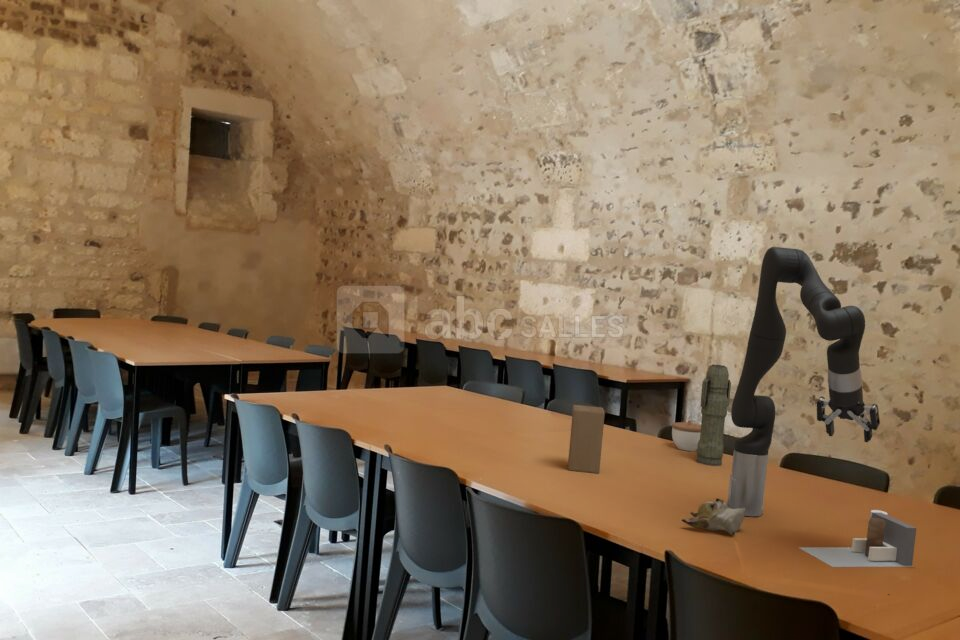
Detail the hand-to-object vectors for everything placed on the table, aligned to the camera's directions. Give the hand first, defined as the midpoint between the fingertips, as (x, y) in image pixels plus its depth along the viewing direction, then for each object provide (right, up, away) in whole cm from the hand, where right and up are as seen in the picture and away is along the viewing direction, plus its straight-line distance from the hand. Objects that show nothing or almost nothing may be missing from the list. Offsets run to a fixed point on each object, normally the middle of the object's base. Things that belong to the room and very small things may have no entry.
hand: (849, 437), depth 210 cm
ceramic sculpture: (-32, -25, +7) cm, 41 cm away
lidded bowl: (-13, -20, +112) cm, 114 cm away
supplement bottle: (+10, -29, +6) cm, 31 cm away
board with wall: (-3, -28, -10) cm, 30 cm away
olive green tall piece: (-11, -22, +90) cm, 93 cm away
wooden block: (-58, -20, +65) cm, 90 cm away
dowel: (+2, -27, -9) cm, 29 cm away
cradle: (+2, -27, -9) cm, 28 cm away
